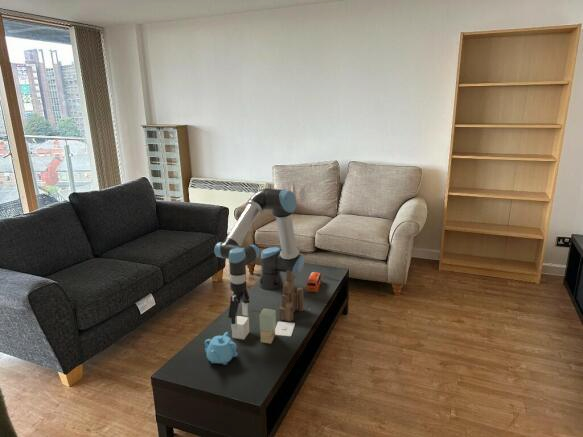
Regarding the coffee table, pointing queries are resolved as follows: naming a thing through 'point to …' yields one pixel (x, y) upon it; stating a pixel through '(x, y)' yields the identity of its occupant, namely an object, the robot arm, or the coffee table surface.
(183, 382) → the coffee table surface
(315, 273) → the toy bus
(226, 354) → the teapot
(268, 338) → the maple base block
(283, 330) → the page
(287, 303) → the wooden toy
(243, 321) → the cream block
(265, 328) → the sage block
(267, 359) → the coffee table surface
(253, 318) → the coffee table surface
